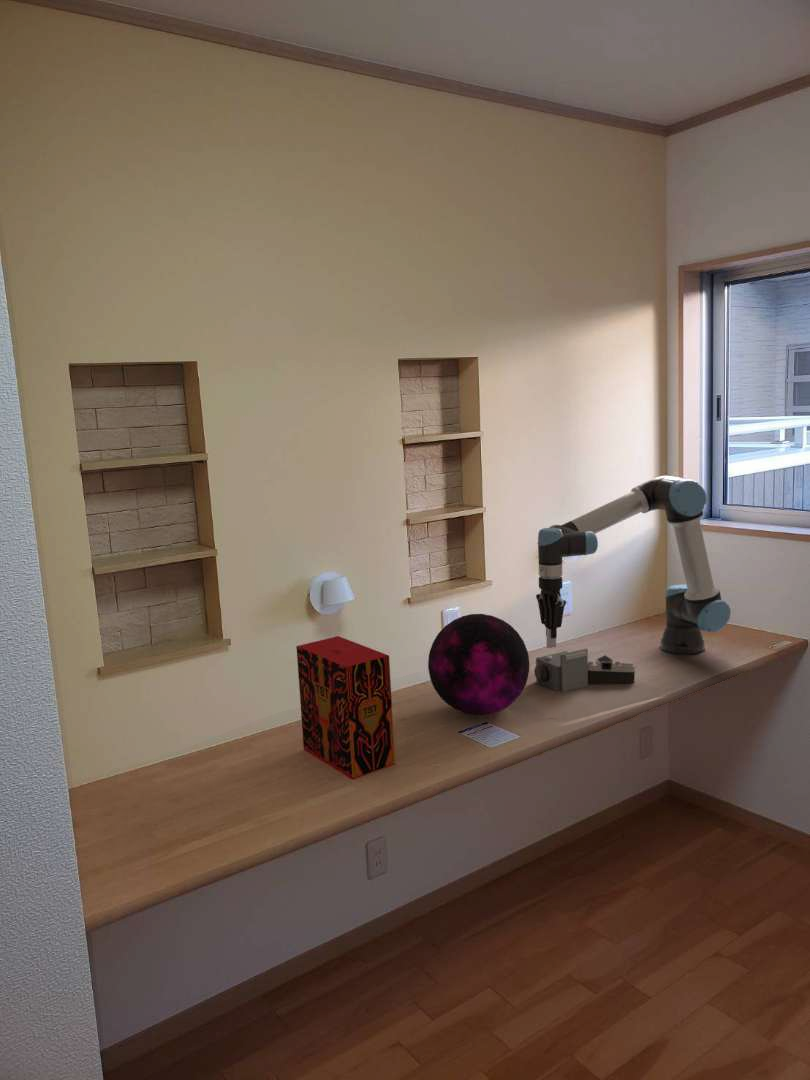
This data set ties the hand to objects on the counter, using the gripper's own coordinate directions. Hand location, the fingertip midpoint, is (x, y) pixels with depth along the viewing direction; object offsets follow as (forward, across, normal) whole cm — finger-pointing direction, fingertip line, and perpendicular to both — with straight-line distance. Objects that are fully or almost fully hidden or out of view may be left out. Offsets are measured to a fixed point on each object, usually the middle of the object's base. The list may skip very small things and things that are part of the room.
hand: (551, 646), depth 288 cm
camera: (+13, +12, +14) cm, 22 cm away
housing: (+12, +5, 0) cm, 13 cm away
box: (+12, +16, -81) cm, 83 cm away
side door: (+11, +11, 0) cm, 16 cm away
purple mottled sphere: (+12, +9, -34) cm, 37 cm away
